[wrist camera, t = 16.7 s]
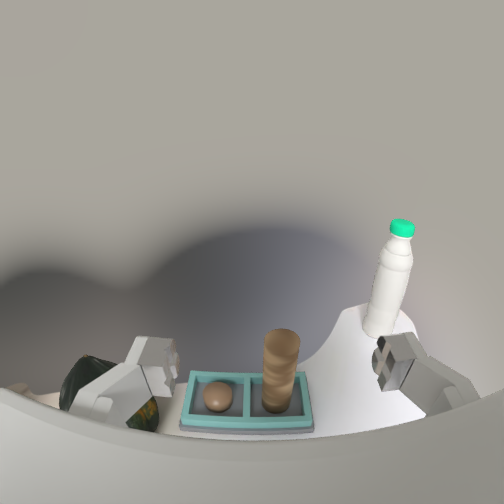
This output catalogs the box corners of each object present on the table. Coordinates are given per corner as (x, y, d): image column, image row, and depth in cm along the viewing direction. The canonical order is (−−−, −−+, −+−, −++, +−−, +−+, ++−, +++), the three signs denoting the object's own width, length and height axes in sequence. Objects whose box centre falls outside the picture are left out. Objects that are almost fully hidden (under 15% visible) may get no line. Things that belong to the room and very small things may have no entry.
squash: (123, 482, 23) (124, 372, 27) (43, 438, 26) (42, 343, 30) (170, 450, 36) (175, 365, 41) (97, 424, 39) (100, 347, 43)
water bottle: (355, 326, 59) (377, 217, 49) (377, 317, 62) (400, 214, 51) (376, 345, 53) (406, 230, 43) (397, 333, 56) (428, 226, 45)
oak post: (261, 413, 39) (264, 353, 33) (261, 391, 43) (263, 328, 37) (291, 413, 39) (302, 352, 33) (288, 391, 43) (297, 328, 37)
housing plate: (180, 430, 37) (175, 418, 35) (190, 379, 47) (187, 365, 45) (313, 432, 37) (317, 420, 35) (305, 380, 46) (307, 366, 45)
